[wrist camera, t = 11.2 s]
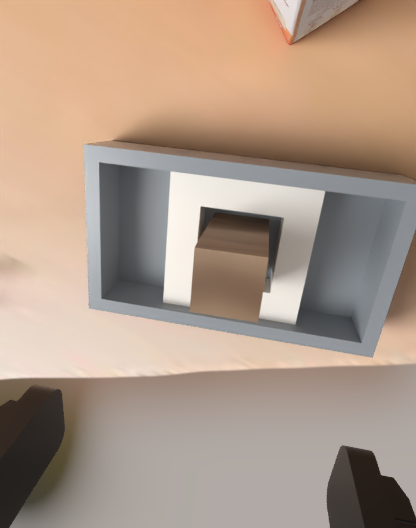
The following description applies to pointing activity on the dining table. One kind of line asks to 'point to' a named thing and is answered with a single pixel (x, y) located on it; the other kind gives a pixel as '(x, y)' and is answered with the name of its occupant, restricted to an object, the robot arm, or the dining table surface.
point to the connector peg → (230, 267)
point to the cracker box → (305, 15)
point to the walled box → (280, 239)
